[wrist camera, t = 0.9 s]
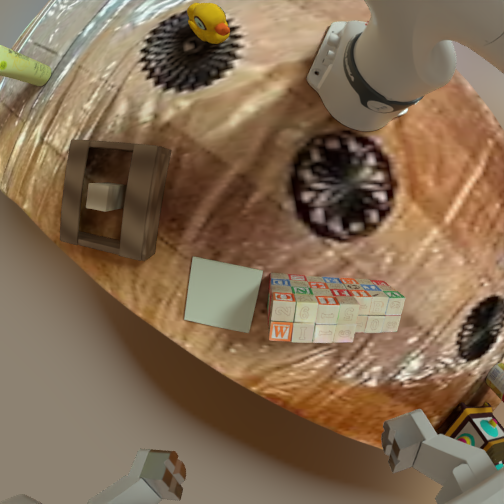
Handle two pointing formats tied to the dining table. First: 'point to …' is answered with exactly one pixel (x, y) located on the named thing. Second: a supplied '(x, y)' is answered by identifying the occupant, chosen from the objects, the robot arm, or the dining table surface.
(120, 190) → the maple block
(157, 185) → the access box
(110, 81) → the dining table surface
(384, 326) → the stack of blocks
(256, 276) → the zone pad
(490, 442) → the decorative lantern
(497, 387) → the canned food
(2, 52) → the tube
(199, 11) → the duckling
